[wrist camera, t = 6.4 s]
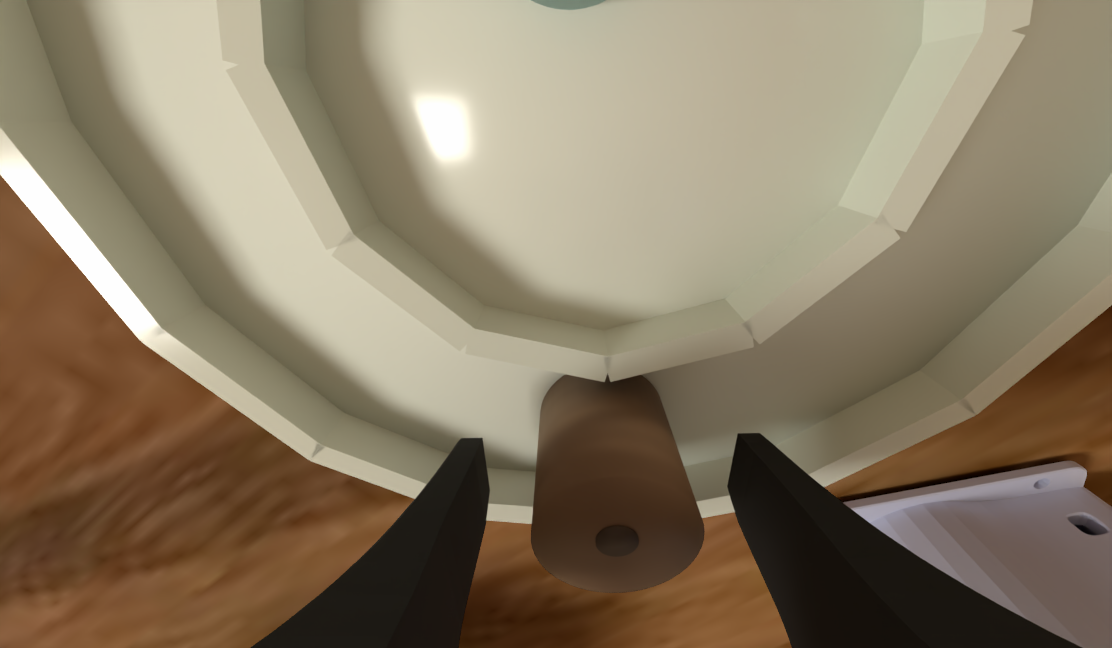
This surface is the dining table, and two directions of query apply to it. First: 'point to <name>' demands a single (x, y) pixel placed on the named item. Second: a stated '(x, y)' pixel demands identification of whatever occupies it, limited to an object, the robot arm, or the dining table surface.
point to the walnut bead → (611, 488)
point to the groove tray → (576, 211)
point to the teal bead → (568, 3)
